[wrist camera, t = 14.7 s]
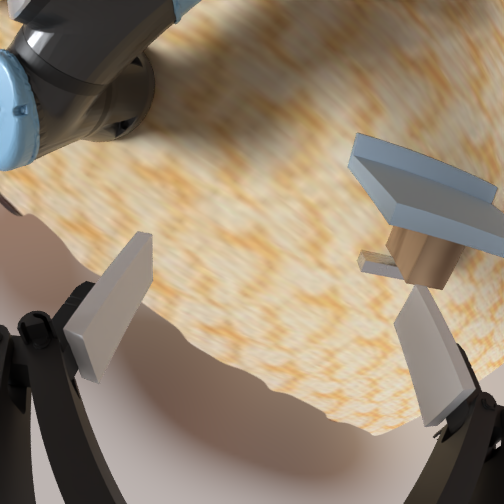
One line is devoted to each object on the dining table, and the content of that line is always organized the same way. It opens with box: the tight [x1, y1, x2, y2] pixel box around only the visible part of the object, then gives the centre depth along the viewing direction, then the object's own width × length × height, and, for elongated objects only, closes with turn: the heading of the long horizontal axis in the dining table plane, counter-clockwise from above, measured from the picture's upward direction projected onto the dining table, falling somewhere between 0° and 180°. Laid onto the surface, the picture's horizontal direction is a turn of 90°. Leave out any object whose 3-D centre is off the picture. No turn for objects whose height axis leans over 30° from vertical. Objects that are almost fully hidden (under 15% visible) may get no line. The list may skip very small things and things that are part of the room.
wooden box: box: [386, 226, 465, 290], centre depth 38 cm, size 6×11×10 cm, turn 170°
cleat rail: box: [357, 250, 404, 280], centre depth 45 cm, size 14×2×3 cm, turn 80°
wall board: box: [348, 133, 504, 258], centre depth 30 cm, size 26×5×18 cm, turn 80°
